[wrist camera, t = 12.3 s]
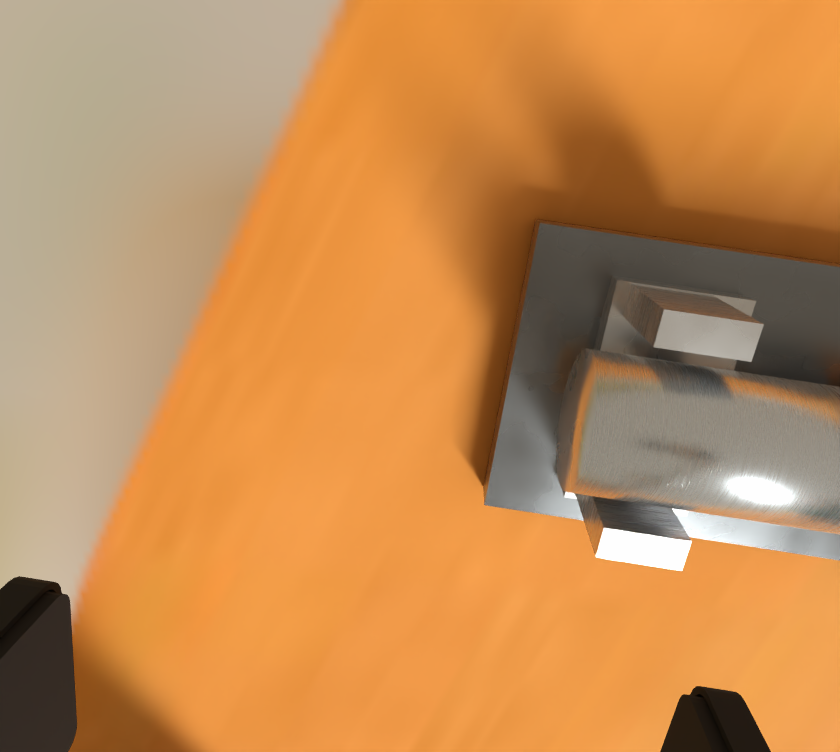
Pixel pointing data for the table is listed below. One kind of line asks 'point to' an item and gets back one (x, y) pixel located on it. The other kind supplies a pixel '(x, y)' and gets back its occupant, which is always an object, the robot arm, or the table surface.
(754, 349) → the cylinder mounting fixture
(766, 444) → the banded metal cylinder
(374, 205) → the table surface
